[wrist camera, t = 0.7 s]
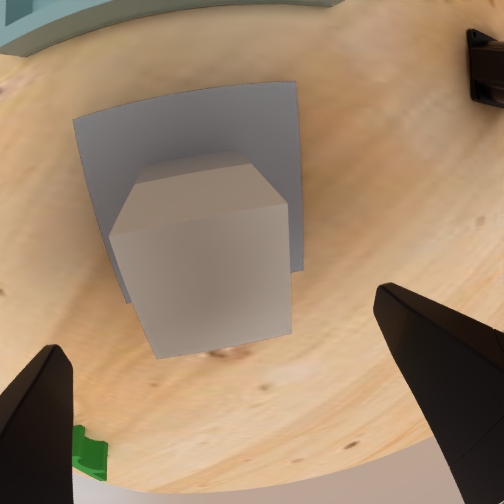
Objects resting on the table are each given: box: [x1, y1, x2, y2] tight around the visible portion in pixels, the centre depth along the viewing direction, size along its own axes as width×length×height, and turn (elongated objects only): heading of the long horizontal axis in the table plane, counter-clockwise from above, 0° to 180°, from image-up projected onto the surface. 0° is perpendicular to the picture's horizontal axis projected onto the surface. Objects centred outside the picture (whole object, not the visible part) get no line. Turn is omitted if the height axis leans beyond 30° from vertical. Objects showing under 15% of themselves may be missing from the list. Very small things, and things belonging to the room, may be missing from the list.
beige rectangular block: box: [109, 149, 292, 359], centre depth 13 cm, size 5×5×9 cm
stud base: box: [73, 81, 303, 303], centre depth 16 cm, size 12×12×4 cm
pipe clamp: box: [72, 425, 108, 481], centre depth 26 cm, size 11×4×5 cm, turn 18°
